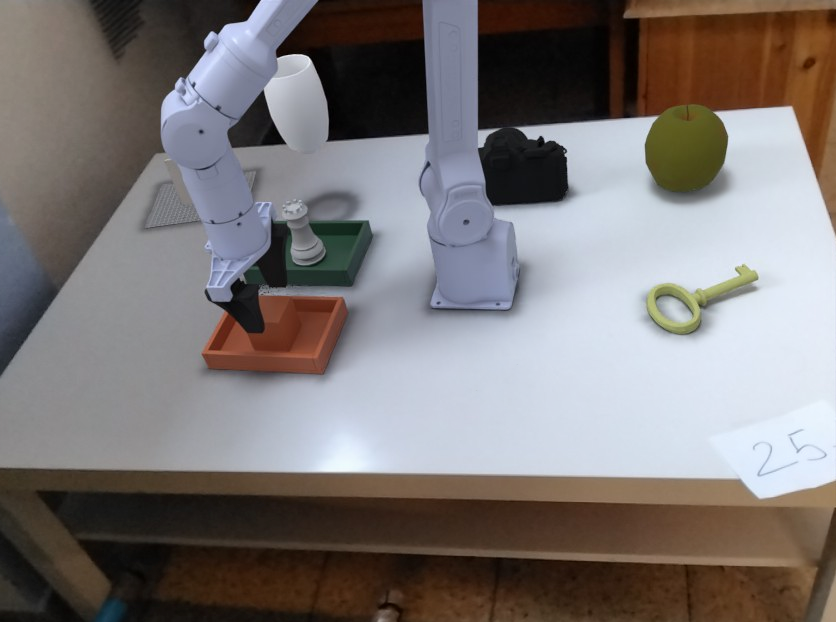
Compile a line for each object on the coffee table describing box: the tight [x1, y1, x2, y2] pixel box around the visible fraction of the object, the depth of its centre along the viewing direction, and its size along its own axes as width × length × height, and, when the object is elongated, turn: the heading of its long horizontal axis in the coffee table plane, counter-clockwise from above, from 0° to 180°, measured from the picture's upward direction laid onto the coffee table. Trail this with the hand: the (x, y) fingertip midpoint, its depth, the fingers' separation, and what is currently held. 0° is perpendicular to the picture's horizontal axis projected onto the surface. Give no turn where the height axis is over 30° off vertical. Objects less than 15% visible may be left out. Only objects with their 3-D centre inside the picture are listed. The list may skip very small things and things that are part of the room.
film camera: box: [478, 126, 569, 206], centre depth 108 cm, size 15×10×9 cm, turn 82°
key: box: [646, 263, 759, 335], centre depth 90 cm, size 7×12×2 cm, turn 125°
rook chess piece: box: [281, 198, 326, 266], centre depth 104 cm, size 4×4×8 cm
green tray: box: [242, 219, 374, 287], centre depth 106 cm, size 14×10×2 cm
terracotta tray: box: [201, 294, 349, 375], centre depth 96 cm, size 14×10×2 cm
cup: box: [263, 53, 330, 155], centre depth 107 cm, size 7×7×21 cm
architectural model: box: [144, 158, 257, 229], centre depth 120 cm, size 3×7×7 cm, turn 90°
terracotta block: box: [246, 295, 302, 351], centre depth 95 cm, size 4×4×4 cm
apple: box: [644, 103, 729, 193], centre depth 102 cm, size 10×10×11 cm
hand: (267, 307), depth 93 cm, fingers open, 7 cm apart
